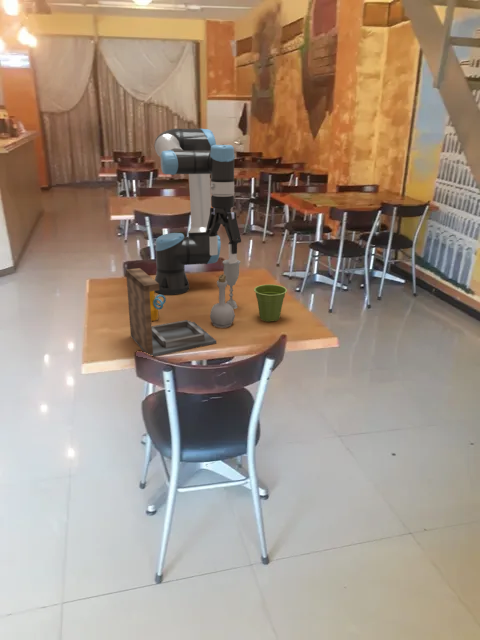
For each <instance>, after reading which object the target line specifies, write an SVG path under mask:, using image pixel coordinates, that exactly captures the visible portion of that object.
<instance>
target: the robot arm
mask: <svg viewBox="0 0 480 640" xmlns="http://www.w3.org/2000/svg"><path fill="white" fill-rule="evenodd" d="M153 145H154V146H153V147H154V151H155V153H156V155H157V156H158V157H159V158H160V168H161V172H162V174H164V175H173V176H174V175H188V185H189V187H188V188H189V202H190V203H189V204H190V205H189V206H190V208H189V209H190V223H191V225H190V226H191V228H190V229H189V230H188V231H187V235H188V236H185V235H184V233H182V232H171V233H170V232H169V233H166V234H162V235H160V236H158V237H157V238H156V239H155V248H154V250H155V259H156V260H155V261H156V262H155V263H156V273H155V278H154V280H155V281H156V282H158V283H159V290H157V291H155V294H158V295H164V296H165V295H167V296H169V295H171V296H172V295H173V296H175V295H181V294H184V293H187V292H188V291H189V290H190V282H189V280H188V277H187V274H186V271H185V266H191V265H208V264H215V263H217V262H218V261H219V259H220V255H221V246H222V244H221V243H222V241H221V236H220V235H219V234H218V231H219V229H220V227H221V225H222V227H224V230H225V232H226V233H225V234H226V235H227V237H228V241H229V242H228V260H229V264H232V263H237V260H238V244H239V243H242V238H241V234H240V228H239V225H238V219H237V212H236V211H234V212H233V211H232V210H231V209H232V208H234V207H235V197H234V194H235V158H236V155H235V148H234V145H231V144H217V142H216V138H215V134H214V132H213V131H212V130H211V129H207V128H170V129H167V130H164V131H163V132H161V133H159V134H158V135H157V136H156V138H155V140H154V144H153ZM211 194H212V195H211Z"/></svg>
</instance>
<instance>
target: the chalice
mask: <svg viewBox="0 0 480 640" xmlns="http://www.w3.org/2000/svg"><path fill="white" fill-rule="evenodd" d="M222 264H223V275H225V276H226V279H225V280H226V281H227V286H229V294H228V295H229V300H227V301H225V303H226V304H229V305H230V306H231V307H232V308H233V310H235V309H238V305H237V302H236V301H235V300H234V299H233V296H234V294H233V291H234V289H233V286H235V285H236V283H237V281H238V279H239V276H240V264H241V260H239V259H237V263H232V264H229V259H224V260H223V261H222Z"/></svg>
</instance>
